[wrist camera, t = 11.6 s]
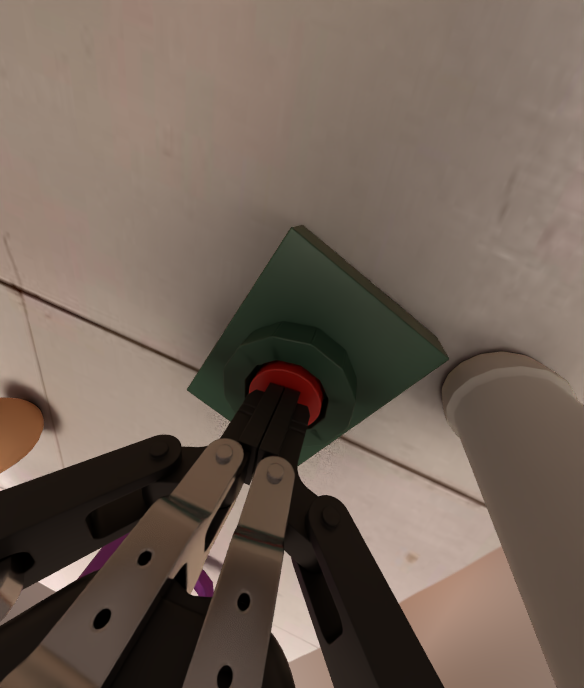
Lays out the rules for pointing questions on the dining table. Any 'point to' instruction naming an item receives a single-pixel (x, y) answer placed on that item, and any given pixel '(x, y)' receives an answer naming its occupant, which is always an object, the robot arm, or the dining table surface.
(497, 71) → the dining table surface
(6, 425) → the egg
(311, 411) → the red push button
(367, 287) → the switch
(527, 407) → the bottle
